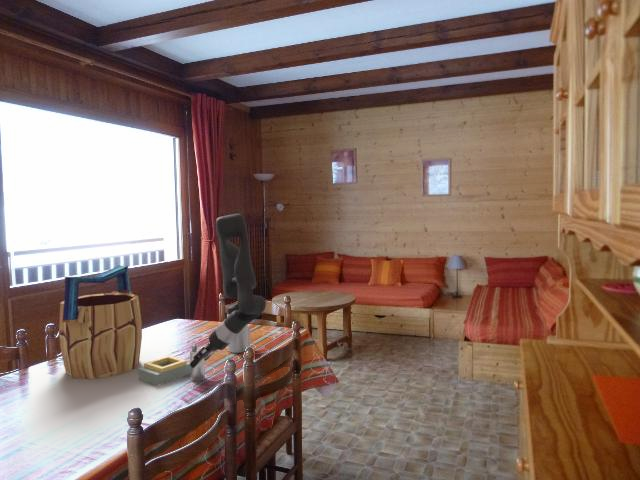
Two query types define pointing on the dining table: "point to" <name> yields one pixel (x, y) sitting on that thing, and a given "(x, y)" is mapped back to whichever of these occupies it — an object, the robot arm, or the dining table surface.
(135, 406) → the dining table surface
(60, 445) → the dining table surface
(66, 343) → the bucket
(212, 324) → the dining table surface
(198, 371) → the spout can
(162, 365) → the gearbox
